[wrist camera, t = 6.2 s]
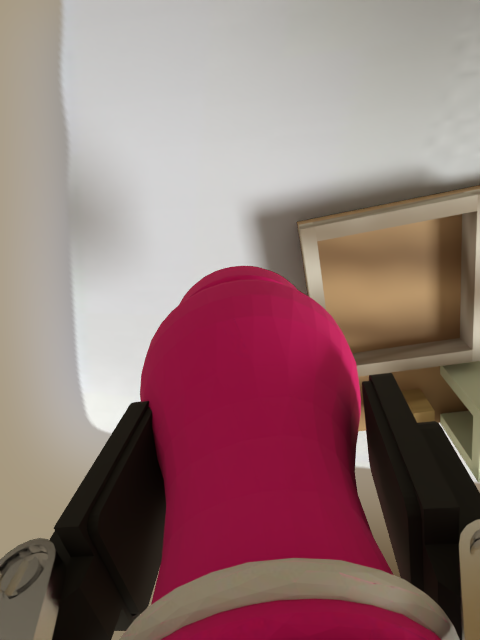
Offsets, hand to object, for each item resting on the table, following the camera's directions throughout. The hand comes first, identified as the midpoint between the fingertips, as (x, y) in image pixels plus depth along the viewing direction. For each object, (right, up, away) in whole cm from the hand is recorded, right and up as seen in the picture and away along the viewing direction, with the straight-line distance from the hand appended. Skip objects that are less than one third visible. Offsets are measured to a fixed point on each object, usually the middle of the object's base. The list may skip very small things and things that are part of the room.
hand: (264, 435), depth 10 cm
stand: (+13, +3, +20) cm, 24 cm away
